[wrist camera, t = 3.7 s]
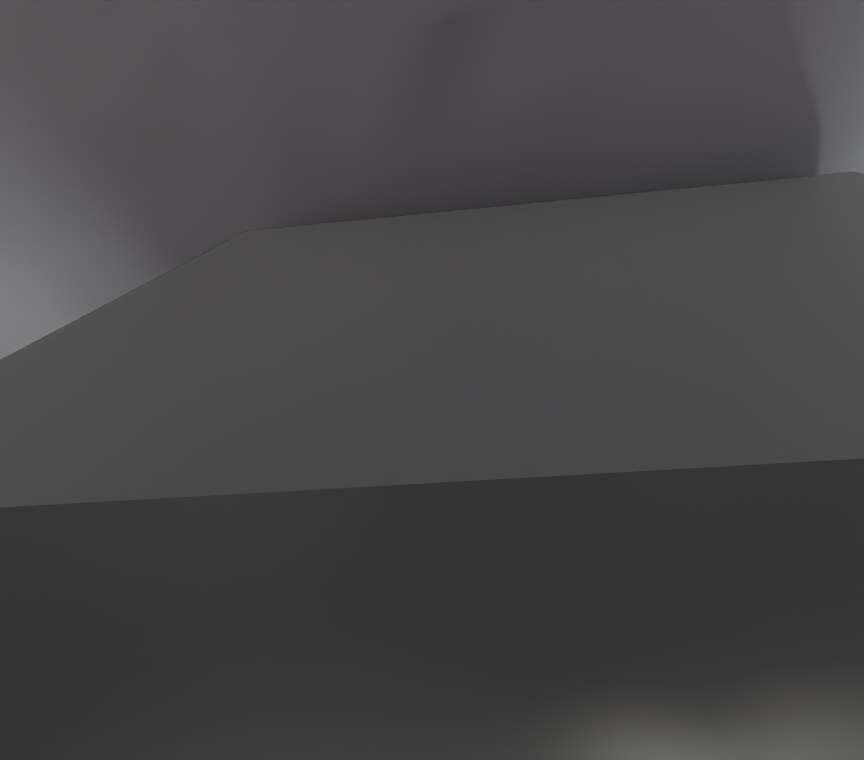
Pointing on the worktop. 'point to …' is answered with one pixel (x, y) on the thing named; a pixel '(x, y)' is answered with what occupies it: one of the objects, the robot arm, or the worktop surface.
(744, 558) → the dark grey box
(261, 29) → the worktop surface
